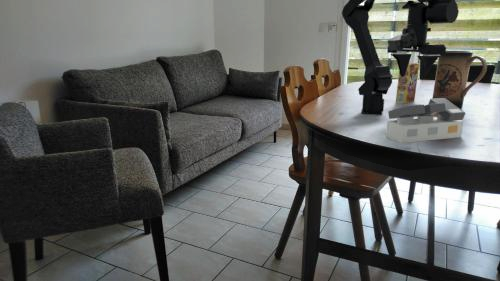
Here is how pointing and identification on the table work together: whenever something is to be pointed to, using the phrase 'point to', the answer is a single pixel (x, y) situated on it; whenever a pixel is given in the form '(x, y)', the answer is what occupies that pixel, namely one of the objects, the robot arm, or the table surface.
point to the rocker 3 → (449, 110)
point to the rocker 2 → (433, 109)
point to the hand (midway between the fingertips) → (411, 78)
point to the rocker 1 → (407, 111)
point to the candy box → (407, 84)
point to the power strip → (423, 128)
